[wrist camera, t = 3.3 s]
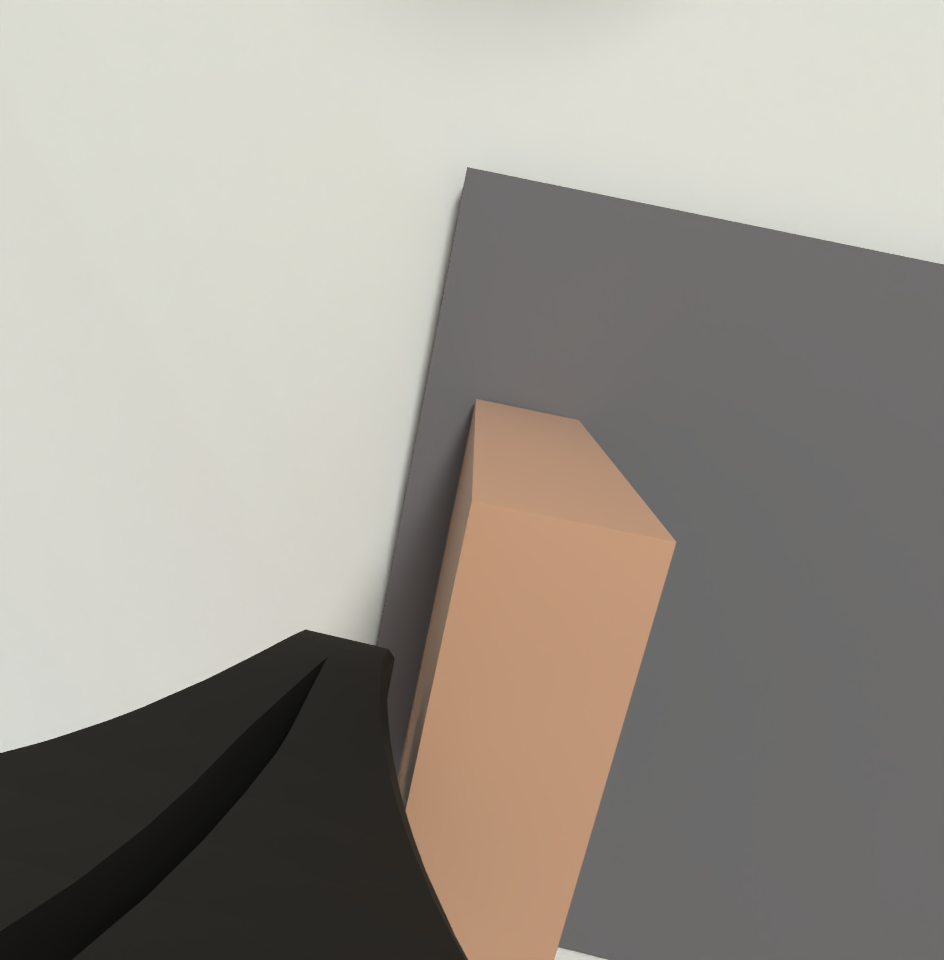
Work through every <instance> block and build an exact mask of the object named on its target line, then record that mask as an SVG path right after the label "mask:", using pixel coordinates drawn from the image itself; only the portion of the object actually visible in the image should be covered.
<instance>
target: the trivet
mask: <svg viewBox="0 0 944 960" xmlns="http://www.w3.org/2000/svg"><path fill="white" fill-rule="evenodd" d="M476 399H479V400H484V401H489V402H494V403H499V404H504V405H508V406H513V407H518V408H523V409H528V410H533V411H537V412H542V413H547V414H552V415H557V416H562V417H567V418H571V419H576V420H579V421H580V422H581V423H582V425H583V426H584V427H585V428H586V430H587V431H588V432H589V433H590V435H591V436H592V437H593V438H594V440H595V441H596V442H597V443H598V445H599V446H600V447H601V448H602V450H603V451H604V452H605V453H606V455H607V456H608V457H609V458H610V460H611V461H612V462H613V463H614V465H615V466H616V467H617V468H618V470H619V471H620V472H621V473H622V475H623V476H624V477H625V478H626V480H627V481H628V482H629V483H630V485H631V486H632V487H633V488H634V490H635V491H636V492H637V493H638V495H639V496H640V497H641V498H642V500H643V501H644V502H645V503H646V505H647V506H648V507H649V508H650V510H651V511H652V512H653V513H654V515H655V516H656V517H657V518H658V520H659V521H660V522H661V523H662V525H663V526H664V527H665V528H666V530H667V531H668V532H669V533H670V534H671V536H672V537H673V538H674V539H675V541H676V545H675V549H674V552H673V556H672V559H671V562H670V566H669V569H668V573H667V576H666V579H665V583H664V586H663V590H662V593H661V597H660V600H659V603H658V607H657V610H656V614H655V617H654V620H653V624H652V627H651V631H650V634H649V637H648V641H647V644H646V648H645V651H644V655H643V658H642V661H641V665H640V668H639V672H638V675H637V678H636V682H635V685H634V689H633V692H632V695H631V699H630V702H629V706H628V709H627V713H626V716H625V719H624V723H623V726H622V730H621V733H620V736H619V740H618V743H617V747H616V750H615V753H614V757H613V760H612V764H611V767H610V771H609V774H608V777H607V781H606V784H605V788H604V791H603V794H602V798H601V801H600V805H599V808H598V812H597V815H596V818H595V822H594V825H593V829H592V832H591V835H590V839H589V842H588V846H587V849H586V852H585V856H584V859H583V863H582V866H581V870H580V873H579V876H578V880H577V883H576V887H575V890H574V893H573V897H572V900H571V904H570V907H569V910H568V914H567V917H566V921H565V924H564V928H563V931H562V934H561V938H560V941H559V945H558V947H561V948H565V949H569V950H573V951H577V952H581V953H585V954H588V955H592V956H596V957H600V958H604V959H608V960H944V265H943V264H938V263H933V262H928V261H923V260H918V259H913V258H908V257H904V256H899V255H894V254H889V253H884V252H879V251H874V250H869V249H864V248H860V247H855V246H850V245H845V244H840V243H835V242H830V241H825V240H820V239H816V238H811V237H806V236H801V235H796V234H791V233H786V232H781V231H776V230H772V229H767V228H762V227H757V226H752V225H747V224H742V223H737V222H732V221H727V220H723V219H718V218H713V217H708V216H703V215H698V214H693V213H688V212H683V211H679V210H674V209H669V208H664V207H659V206H654V205H649V204H644V203H639V202H635V201H630V200H625V199H620V198H615V197H610V196H605V195H600V194H595V193H591V192H586V191H581V190H576V189H571V188H566V187H561V186H556V185H551V184H547V183H542V182H537V181H532V180H527V179H522V178H517V177H512V176H507V175H502V174H498V173H493V172H488V171H483V170H478V169H473V168H468V167H467V172H466V177H465V182H464V188H463V193H462V198H461V203H460V209H459V214H458V219H457V225H456V230H455V235H454V240H453V246H452V251H451V256H450V262H449V267H448V272H447V277H446V283H445V288H444V293H443V299H442V304H441V309H440V314H439V320H438V325H437V330H436V336H435V341H434V346H433V351H432V357H431V362H430V367H429V373H428V378H427V383H426V388H425V394H424V399H423V404H422V410H421V415H420V420H419V425H418V431H417V436H416V441H415V447H414V452H413V457H412V462H411V468H410V473H409V478H408V484H407V489H406V494H405V499H404V505H403V510H402V515H401V521H400V526H399V531H398V536H397V542H396V547H395V552H394V558H393V563H392V568H391V574H390V579H389V584H388V589H387V595H386V600H385V605H384V611H383V616H382V621H381V626H380V632H379V637H378V642H377V646H378V647H382V648H387V649H389V650H390V652H391V653H392V655H393V656H394V658H395V660H394V666H393V671H392V676H391V681H390V686H389V691H388V697H387V708H388V720H389V731H390V740H391V747H392V754H393V759H394V764H395V769H396V774H397V779H398V775H399V770H400V764H401V758H402V753H403V748H404V743H405V739H406V734H407V729H408V724H409V719H410V715H411V710H412V705H413V700H414V695H415V691H416V686H417V681H418V676H419V671H420V666H421V662H422V657H423V652H424V647H425V642H426V638H427V633H428V628H429V623H430V618H431V613H432V609H433V604H434V599H435V594H436V589H437V585H438V580H439V575H440V570H441V565H442V560H443V556H444V551H445V546H446V541H447V536H448V532H449V527H450V522H451V517H452V512H453V508H454V503H455V498H456V493H457V488H458V483H459V479H460V474H461V469H462V464H463V459H464V455H465V450H466V445H467V440H468V435H469V430H470V426H471V421H472V416H473V411H474V406H475V402H476Z"/></svg>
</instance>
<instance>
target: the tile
mask: <svg viewBox="0 0 944 960" xmlns="http://www.w3.org/2000/svg"><path fill="white" fill-rule="evenodd" d="M675 545H676V541H675V539H674V538H673V537H672V536H671V534H670V533H669V532H668V531H667V530H666V528H665V527H664V526H663V525H662V523H661V522H660V521H659V520H658V518H657V517H656V516H655V515H654V513H653V512H652V511H651V510H650V508H649V507H648V506H647V505H646V503H645V502H644V501H643V500H642V498H641V497H640V496H639V495H638V493H637V492H636V491H635V490H634V488H633V487H632V486H631V485H630V483H629V482H628V481H627V480H626V478H625V477H624V476H623V475H622V473H621V472H620V471H619V470H618V468H617V467H616V466H615V465H614V463H613V462H612V461H611V460H610V458H609V457H608V456H607V455H606V453H605V452H604V451H603V450H602V448H601V447H600V446H599V445H598V443H597V442H596V441H595V440H594V438H593V437H592V436H591V435H590V433H589V432H588V431H587V430H586V428H585V427H584V426H583V425H582V423H581V422H580V421H579V420H576V419H571V418H567V417H562V416H557V415H552V414H547V413H542V412H537V411H533V410H528V409H523V408H518V407H513V406H508V405H504V404H499V403H494V402H489V401H484V400H479V399H476V402H475V406H474V411H473V416H472V421H471V426H470V430H469V435H468V440H467V445H466V450H465V455H464V459H463V464H462V469H461V474H460V479H459V483H458V488H457V493H456V498H455V503H454V508H453V512H452V517H451V522H450V527H449V532H448V536H447V541H446V546H445V551H444V556H443V560H442V565H441V570H440V575H439V580H438V585H437V589H436V594H435V599H434V604H433V609H432V613H431V618H430V623H429V628H428V633H427V638H426V642H425V647H424V652H423V657H422V662H421V666H420V671H419V676H418V681H417V686H416V691H415V695H414V700H413V705H412V710H411V715H410V719H409V724H408V729H407V734H406V739H405V743H404V748H403V753H402V758H401V764H400V770H399V775H398V784H399V788H400V792H401V796H402V800H403V804H404V808H405V811H406V814H407V817H408V821H409V824H410V827H411V831H412V834H413V837H414V839H415V842H416V845H417V848H418V851H419V853H420V856H421V859H422V862H423V864H424V867H425V870H426V872H427V874H428V877H429V879H430V881H431V883H432V885H433V888H434V890H435V892H436V894H437V897H438V899H439V901H440V903H441V905H442V908H443V910H444V912H445V914H446V916H447V919H448V921H449V923H450V925H451V927H452V930H453V932H454V934H455V936H456V938H457V940H458V942H459V944H460V945H461V947H462V949H463V951H464V953H465V955H466V956H467V958H468V960H554V958H555V955H556V951H557V948H558V945H559V941H560V938H561V934H562V931H563V928H564V924H565V921H566V917H567V914H568V910H569V907H570V904H571V900H572V897H573V893H574V890H575V887H576V883H577V880H578V876H579V873H580V870H581V866H582V863H583V859H584V856H585V852H586V849H587V846H588V842H589V839H590V835H591V832H592V829H593V825H594V822H595V818H596V815H597V812H598V808H599V805H600V801H601V798H602V794H603V791H604V788H605V784H606V781H607V777H608V774H609V771H610V767H611V764H612V760H613V757H614V753H615V750H616V747H617V743H618V740H619V736H620V733H621V730H622V726H623V723H624V719H625V716H626V713H627V709H628V706H629V702H630V699H631V695H632V692H633V689H634V685H635V682H636V678H637V675H638V672H639V668H640V665H641V661H642V658H643V655H644V651H645V648H646V644H647V641H648V637H649V634H650V631H651V627H652V624H653V620H654V617H655V614H656V610H657V607H658V603H659V600H660V597H661V593H662V590H663V586H664V583H665V579H666V576H667V573H668V569H669V566H670V562H671V559H672V556H673V552H674V549H675Z"/></svg>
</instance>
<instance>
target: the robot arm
mask: <svg viewBox="0 0 944 960" xmlns="http://www.w3.org/2000/svg"><path fill="white" fill-rule="evenodd" d="M394 660H395V658H394V656H393V655H392V653H391V652H390V650H389V649H387V648H382V647H378V646H374V645H369V644H365V643H361V642H357V641H352V640H348V639H344V638H339V637H335V636H331V635H326V634H322V633H318V632H314V631H309V630H304V631H301V632H299V633H297V634H295V635H293V636H291V637H289V638H287V639H285V640H283V641H281V642H279V643H277V644H275V645H273V646H271V647H270V648H268V649H266V650H264V651H262V652H260V653H258V654H256V655H254V656H252V657H250V658H248V659H246V660H244V661H242V662H240V663H238V664H236V665H234V666H232V667H230V668H228V669H226V670H224V671H222V672H220V673H218V674H216V675H214V676H212V677H210V678H208V679H206V680H204V681H202V682H199V683H197V684H195V685H193V686H190V687H188V688H186V689H183V690H181V691H179V692H177V693H174V694H172V695H170V696H167V697H165V698H163V699H161V700H158V701H156V702H154V703H151V704H149V705H147V706H145V707H142V708H140V709H137V710H135V711H132V712H129V713H127V714H124V715H122V716H119V717H116V718H113V719H111V720H108V721H105V722H103V723H100V724H97V725H94V726H91V727H88V728H85V729H82V730H79V731H76V732H73V733H70V734H67V735H64V736H61V737H57V738H54V739H51V740H48V741H44V742H41V743H38V744H34V745H30V746H26V747H22V748H18V749H15V750H11V751H7V752H3V753H0V960H468V958H467V956H466V955H465V953H464V951H463V949H462V947H461V945H460V944H459V942H458V940H457V938H456V936H455V934H454V932H453V930H452V927H451V925H450V923H449V921H448V919H447V916H446V914H445V912H444V910H443V908H442V905H441V903H440V901H439V899H438V897H437V894H436V892H435V890H434V888H433V885H432V883H431V881H430V879H429V877H428V874H427V872H426V870H425V867H424V864H423V862H422V859H421V856H420V853H419V851H418V848H417V845H416V842H415V839H414V837H413V834H412V831H411V827H410V824H409V821H408V817H407V814H406V811H405V808H404V804H403V800H402V796H401V792H400V788H399V784H398V779H397V774H396V769H395V764H394V759H393V754H392V747H391V740H390V731H389V720H388V708H387V697H388V691H389V686H390V681H391V676H392V671H393V666H394Z"/></svg>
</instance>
